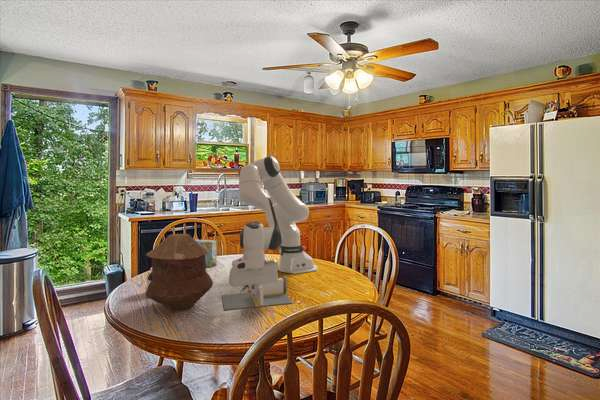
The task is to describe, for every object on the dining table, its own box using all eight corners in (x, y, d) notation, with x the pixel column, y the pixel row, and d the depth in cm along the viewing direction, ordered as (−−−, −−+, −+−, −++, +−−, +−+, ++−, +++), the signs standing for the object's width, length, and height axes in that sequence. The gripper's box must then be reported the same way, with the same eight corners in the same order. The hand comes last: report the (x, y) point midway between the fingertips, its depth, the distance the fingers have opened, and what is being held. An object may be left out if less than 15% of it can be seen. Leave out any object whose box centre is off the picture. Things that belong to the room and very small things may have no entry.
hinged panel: (253, 295, 156) (253, 281, 155) (257, 295, 156) (256, 281, 156) (260, 305, 144) (259, 290, 144) (263, 304, 145) (263, 290, 144)
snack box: (217, 265, 210) (216, 240, 209) (212, 267, 205) (211, 242, 204) (187, 262, 217) (186, 238, 216) (181, 264, 212) (180, 239, 211)
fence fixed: (285, 291, 162) (285, 276, 161) (286, 293, 160) (286, 277, 159) (252, 294, 157) (252, 278, 157) (253, 296, 156) (252, 279, 155)
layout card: (282, 289, 165) (282, 288, 165) (292, 303, 148) (292, 302, 148) (222, 295, 158) (222, 294, 158) (224, 310, 140) (224, 309, 140)
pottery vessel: (156, 325, 127) (153, 243, 124) (140, 304, 147) (137, 233, 145) (223, 309, 142) (222, 235, 140) (200, 292, 163) (199, 227, 160)
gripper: (276, 258, 152) (275, 289, 153) (228, 261, 145) (228, 294, 146) (280, 261, 146) (280, 294, 147) (230, 265, 139) (230, 299, 140)
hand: (253, 294), depth 147 cm, fingers closed
